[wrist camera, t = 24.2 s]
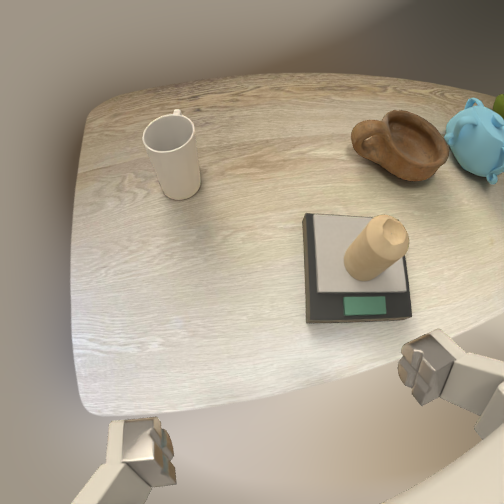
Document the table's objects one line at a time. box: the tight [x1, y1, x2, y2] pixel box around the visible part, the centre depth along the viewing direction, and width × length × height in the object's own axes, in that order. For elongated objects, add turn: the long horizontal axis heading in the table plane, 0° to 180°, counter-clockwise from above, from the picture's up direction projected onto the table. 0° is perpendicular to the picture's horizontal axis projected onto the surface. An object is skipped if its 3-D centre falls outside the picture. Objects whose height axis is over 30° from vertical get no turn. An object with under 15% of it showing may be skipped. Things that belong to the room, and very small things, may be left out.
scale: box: [302, 213, 412, 323], centre depth 42 cm, size 15×15×3 cm
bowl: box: [351, 110, 449, 181], centre depth 47 cm, size 18×14×10 cm
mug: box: [143, 109, 201, 200], centre depth 42 cm, size 10×7×12 cm, turn 177°
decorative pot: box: [444, 98, 504, 184], centre depth 48 cm, size 16×16×14 cm
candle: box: [344, 215, 409, 281], centre depth 36 cm, size 6×6×10 cm
